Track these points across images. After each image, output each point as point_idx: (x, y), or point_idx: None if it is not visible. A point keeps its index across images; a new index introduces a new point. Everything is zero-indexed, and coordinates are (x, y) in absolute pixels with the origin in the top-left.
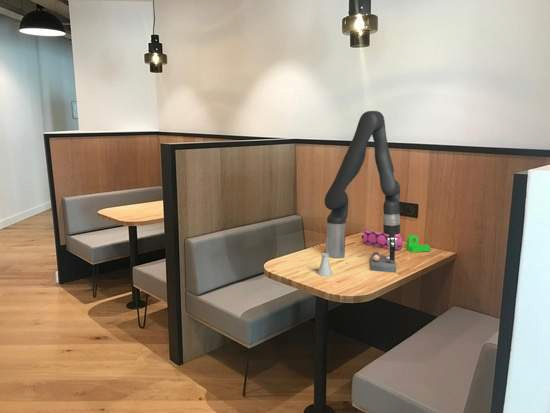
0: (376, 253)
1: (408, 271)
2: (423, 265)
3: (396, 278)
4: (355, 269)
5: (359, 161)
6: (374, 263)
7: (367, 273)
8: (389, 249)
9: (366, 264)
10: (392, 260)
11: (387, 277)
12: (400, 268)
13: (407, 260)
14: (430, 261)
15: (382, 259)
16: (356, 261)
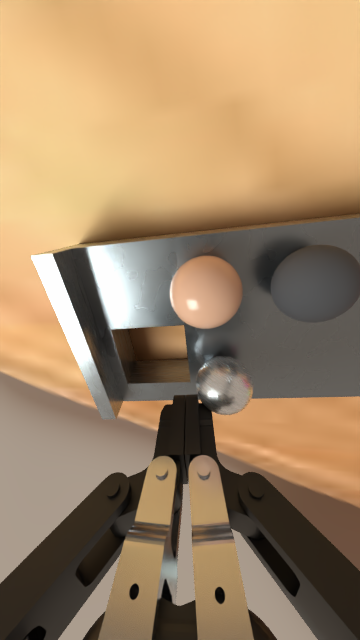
0: (300, 299)
1: None
2: (265, 464)
3: (33, 376)
4: (43, 71)
5: None
6: (48, 281)
7: (8, 218)
8: (190, 484)
9: (240, 181)
10: None
11: (19, 341)
12: None
13: (349, 425)
14: (327, 484)
15: (267, 328)
16: (350, 17)
